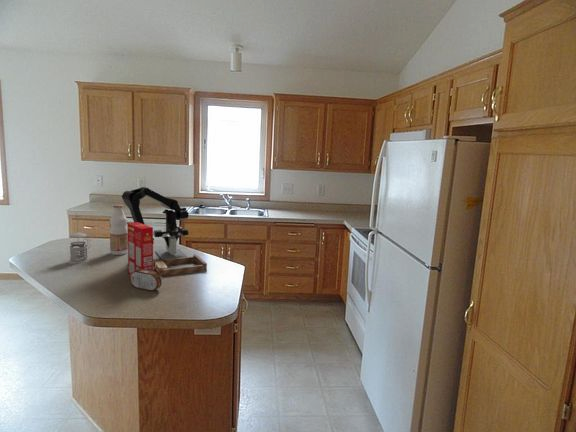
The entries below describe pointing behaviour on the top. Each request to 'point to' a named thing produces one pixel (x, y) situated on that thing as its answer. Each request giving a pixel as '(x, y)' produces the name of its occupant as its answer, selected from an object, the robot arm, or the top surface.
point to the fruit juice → (118, 232)
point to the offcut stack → (160, 267)
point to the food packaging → (140, 247)
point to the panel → (171, 244)
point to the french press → (74, 251)
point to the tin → (145, 279)
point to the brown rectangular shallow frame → (182, 270)
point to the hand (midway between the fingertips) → (171, 247)
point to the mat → (166, 255)
